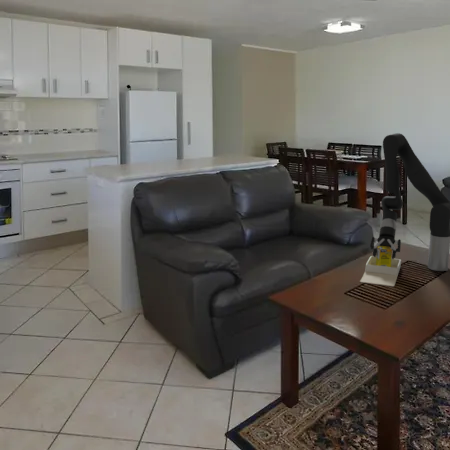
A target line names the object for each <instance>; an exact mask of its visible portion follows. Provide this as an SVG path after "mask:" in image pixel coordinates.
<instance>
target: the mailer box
mask: <svg viewBox="0 0 450 450" xmlns="http://www.w3.org/2000/svg"><path fill="white" fill-rule="evenodd" d="M401 265H402V259H399V258H394V259H392V257H391V267H385V266H377V265H376V257H374V256H373V255H371V256H370V257H369V258H368V260H367V261H366V264H365V268H364V269H365V270H364V273H363V275H362V277H361V278H360V280H359V282H360V283H361V284H369V285H370V284H371V285H378V286H385V287H386V286H387V287H393V288H394V287H395V285H396V282H397V279H398V275H399V273H400V269H401Z"/></svg>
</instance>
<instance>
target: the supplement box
mask: <svg viewBox="0 0 450 450" xmlns="http://www.w3.org/2000/svg"><path fill="white" fill-rule="evenodd" d="M392 254H393V250H392V249H391V248H390V247H387V246H377V251H376V265H377V266H385V267H391V258H392Z"/></svg>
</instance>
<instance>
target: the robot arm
mask: <svg viewBox="0 0 450 450" xmlns="http://www.w3.org/2000/svg"><path fill="white" fill-rule="evenodd" d="M382 151H383V157H384V164H385V166H384V167H385V192H387V193H390V194H392V195H393V194H394V196H391V195H387V196H383V197H382V199H381V208H382V221H381V223H380V229H379V236H378V238H376V237H374V236H372V238H371V241H370V250H373V251H372V256H374V257H376V251H377V246H387V247H390V248H391V249H392V257H391V258H392V259H396V256H397V255H396V254H397V253H401V244H402V242H401V239H395V237H396V233H397V221H398V213H397V212H396V211H400V210H401V209H402V208H403V205H404V202H403V198H402V193H401V175H400V170H399V167H398V162H397V157H399V158H400V159H401V161H402V163H403V168H404V171H405V172H404V173H405V174H406V177H407V179H408V180H409V182H410V183H411V185H412V187H414V189H416V190H417V191H418V192H419V193H420V194H422V195H423V196H424V197H425V198H426V199H427V200H428V201H429V202H430V204H431V206H432V208H431V210H430V212H429V213H430V215H429V230H430V235H429V245H428V246H429V247H428V256H427V257H428V259H427V268H428V269H430V270H432V271H435V272H436V271H437V272H444V271H445V272H448V271H449V262H450V261H449V260H450V259H449V258H450V200H449V199H448V198H447V197H446V196H445V194H444V193H443V192H442V191H441V189H440V188H439V186H438V185H437V183H436V182H435V180H434V179H433V178H432V176H431V174H430V173H429V171H428V170H427V168H425V166H424V165H423V164H422V163H423V162H421V160H420V159H419V158H418V156H417V155H416V153H415V152H414V150H413V149H412V147H411V145H410V143H409V141H408V140H407V138H406V136H404V134H402V133H399V132H397V133H390V134H387V135H386V136H384V138H383V140H382ZM375 243H376V245H375ZM395 244H396V245H397V248H396V247H395Z"/></svg>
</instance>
